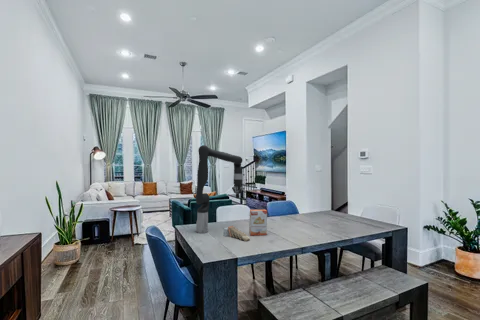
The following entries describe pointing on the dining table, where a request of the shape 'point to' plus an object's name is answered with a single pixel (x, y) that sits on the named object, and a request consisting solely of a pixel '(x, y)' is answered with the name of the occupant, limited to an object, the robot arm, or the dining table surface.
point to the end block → (226, 232)
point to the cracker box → (258, 222)
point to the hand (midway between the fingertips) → (237, 198)
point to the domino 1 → (229, 230)
